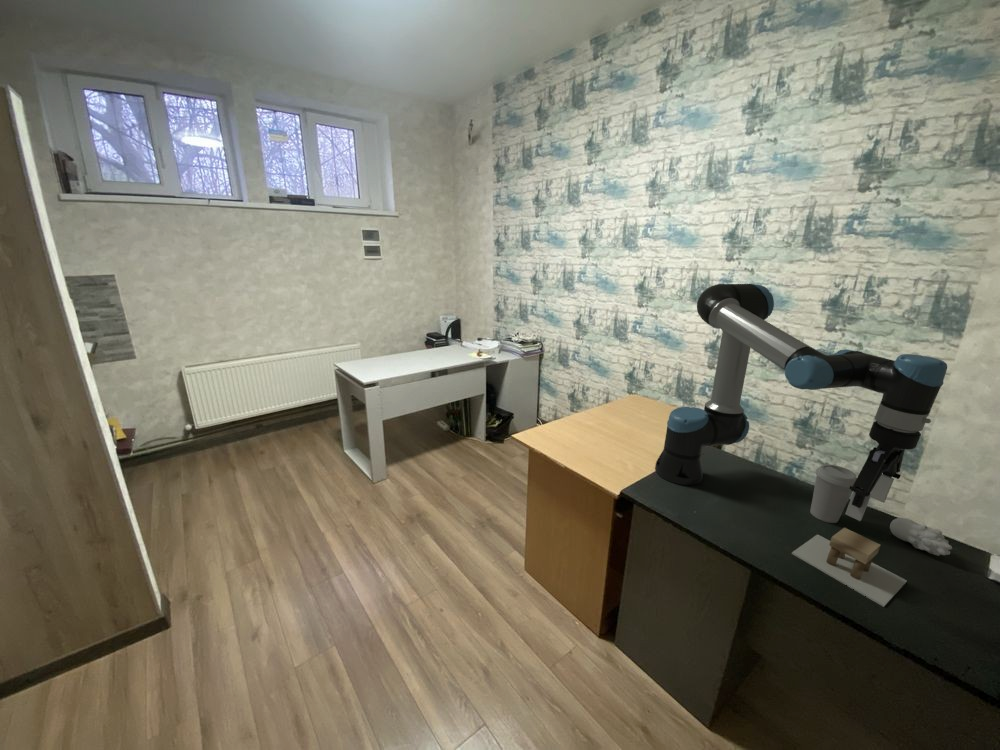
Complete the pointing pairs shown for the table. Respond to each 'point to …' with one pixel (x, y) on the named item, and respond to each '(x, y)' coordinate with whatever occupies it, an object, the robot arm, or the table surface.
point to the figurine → (920, 536)
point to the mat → (871, 583)
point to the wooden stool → (853, 550)
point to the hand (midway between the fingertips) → (865, 508)
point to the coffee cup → (831, 492)
